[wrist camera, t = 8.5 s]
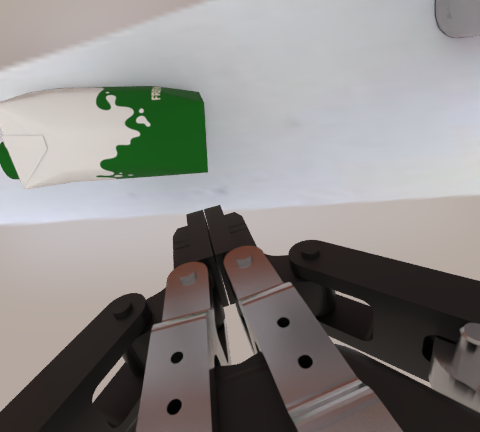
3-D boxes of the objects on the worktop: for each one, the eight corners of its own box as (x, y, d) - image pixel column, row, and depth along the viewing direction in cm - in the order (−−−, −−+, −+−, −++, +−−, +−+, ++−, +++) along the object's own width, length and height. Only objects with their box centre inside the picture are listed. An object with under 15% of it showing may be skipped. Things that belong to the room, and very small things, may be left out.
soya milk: (203, 156, 38) (36, 166, 35) (198, 81, 34) (5, 84, 31) (209, 183, 31) (-2, 199, 28) (204, 91, 26) (-49, 97, 23)
